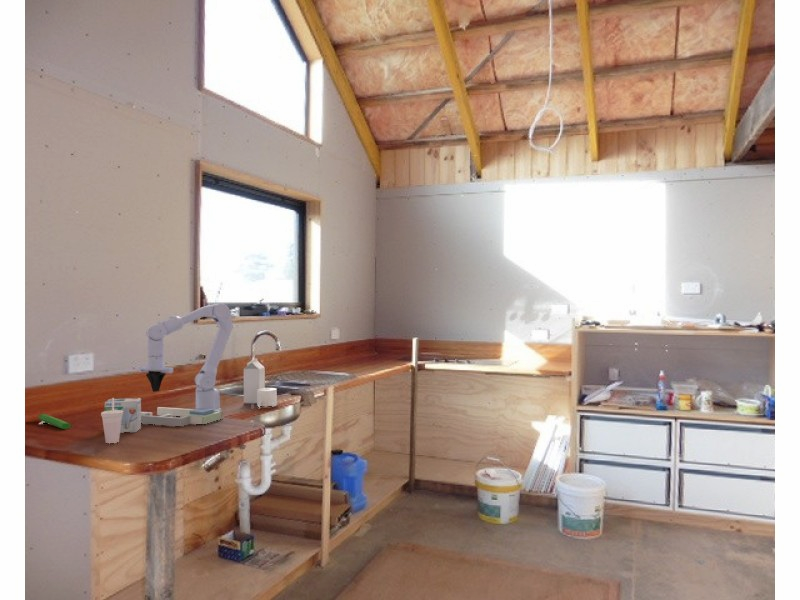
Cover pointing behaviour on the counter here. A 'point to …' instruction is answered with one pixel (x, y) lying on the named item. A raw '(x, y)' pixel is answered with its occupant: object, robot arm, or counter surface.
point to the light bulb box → (127, 413)
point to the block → (202, 411)
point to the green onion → (53, 421)
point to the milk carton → (253, 380)
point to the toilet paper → (267, 397)
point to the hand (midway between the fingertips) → (155, 391)
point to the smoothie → (112, 424)
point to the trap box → (173, 421)
